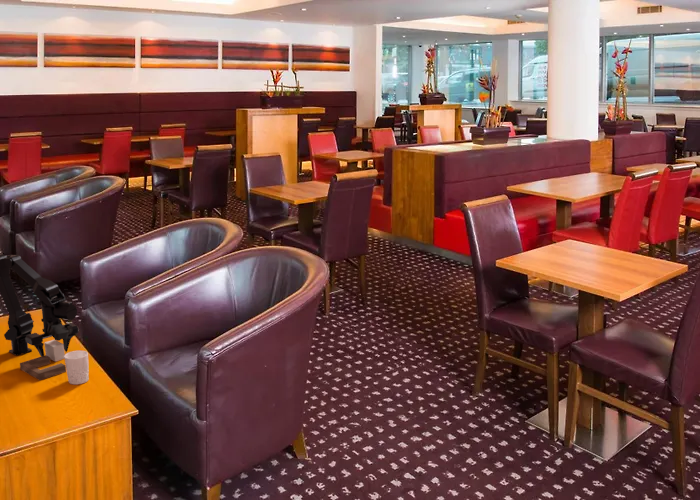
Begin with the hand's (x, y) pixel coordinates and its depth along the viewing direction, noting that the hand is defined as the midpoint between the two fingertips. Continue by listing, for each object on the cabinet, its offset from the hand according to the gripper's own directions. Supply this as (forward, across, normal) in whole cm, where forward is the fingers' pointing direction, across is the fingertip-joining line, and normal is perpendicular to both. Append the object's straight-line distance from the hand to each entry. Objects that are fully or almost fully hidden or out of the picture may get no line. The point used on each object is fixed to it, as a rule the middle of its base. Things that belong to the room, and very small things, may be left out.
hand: (54, 354), depth 279 cm
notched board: (+1, -9, -8) cm, 12 cm away
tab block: (+1, 0, 0) cm, 1 cm away
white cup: (+1, -5, -26) cm, 27 cm away
